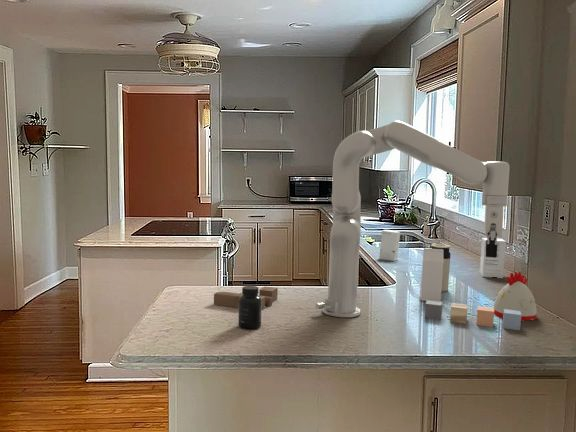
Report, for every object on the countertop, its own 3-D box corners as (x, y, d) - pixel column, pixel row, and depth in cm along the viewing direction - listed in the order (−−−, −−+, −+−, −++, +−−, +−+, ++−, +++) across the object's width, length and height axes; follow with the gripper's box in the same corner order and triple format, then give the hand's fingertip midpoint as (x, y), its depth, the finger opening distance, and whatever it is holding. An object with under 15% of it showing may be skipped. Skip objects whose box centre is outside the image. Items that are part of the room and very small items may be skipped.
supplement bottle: (249, 321, 178) (250, 283, 176) (265, 326, 173) (267, 287, 172) (233, 326, 172) (234, 287, 171) (250, 331, 168) (251, 291, 167)
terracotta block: (492, 327, 183) (494, 311, 182) (476, 325, 184) (477, 309, 184) (492, 323, 187) (493, 307, 187) (476, 321, 189) (477, 306, 189)
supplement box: (503, 278, 258) (506, 241, 256) (482, 277, 260) (484, 240, 258) (499, 274, 268) (502, 238, 266) (478, 273, 269) (481, 237, 267)
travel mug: (427, 290, 229) (430, 245, 227) (427, 286, 236) (430, 243, 234) (448, 292, 227) (451, 247, 225) (447, 288, 234) (450, 244, 233)
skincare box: (379, 259, 294) (380, 230, 293) (382, 257, 300) (384, 229, 298) (395, 261, 290) (396, 232, 289) (398, 259, 296) (400, 230, 294)
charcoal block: (440, 320, 188) (441, 305, 187) (424, 318, 189) (425, 303, 189) (441, 316, 193) (442, 301, 192) (426, 314, 194) (427, 300, 194)
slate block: (520, 330, 180) (521, 314, 180) (502, 328, 182) (504, 312, 181) (519, 326, 185) (520, 311, 184) (502, 324, 187) (503, 309, 186)
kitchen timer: (484, 311, 202) (487, 268, 200) (515, 308, 207) (519, 267, 205) (512, 322, 189) (516, 277, 187) (545, 319, 194) (549, 275, 192)
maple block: (466, 323, 185) (467, 308, 185) (449, 321, 187) (451, 306, 186) (466, 319, 190) (467, 304, 189) (450, 317, 192) (451, 303, 191)
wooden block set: (263, 296, 189) (213, 290, 195) (262, 313, 189) (212, 306, 195) (280, 285, 205) (234, 280, 211) (280, 301, 205) (233, 295, 211)
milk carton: (440, 302, 211) (444, 251, 209) (420, 300, 212) (423, 249, 210) (439, 297, 218) (443, 248, 216) (420, 296, 219) (423, 246, 217)
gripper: (508, 203, 172) (504, 260, 174) (506, 199, 189) (502, 251, 190) (481, 202, 175) (478, 258, 176) (482, 198, 191) (478, 249, 193)
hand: (490, 254), depth 183 cm, fingers open, 9 cm apart
